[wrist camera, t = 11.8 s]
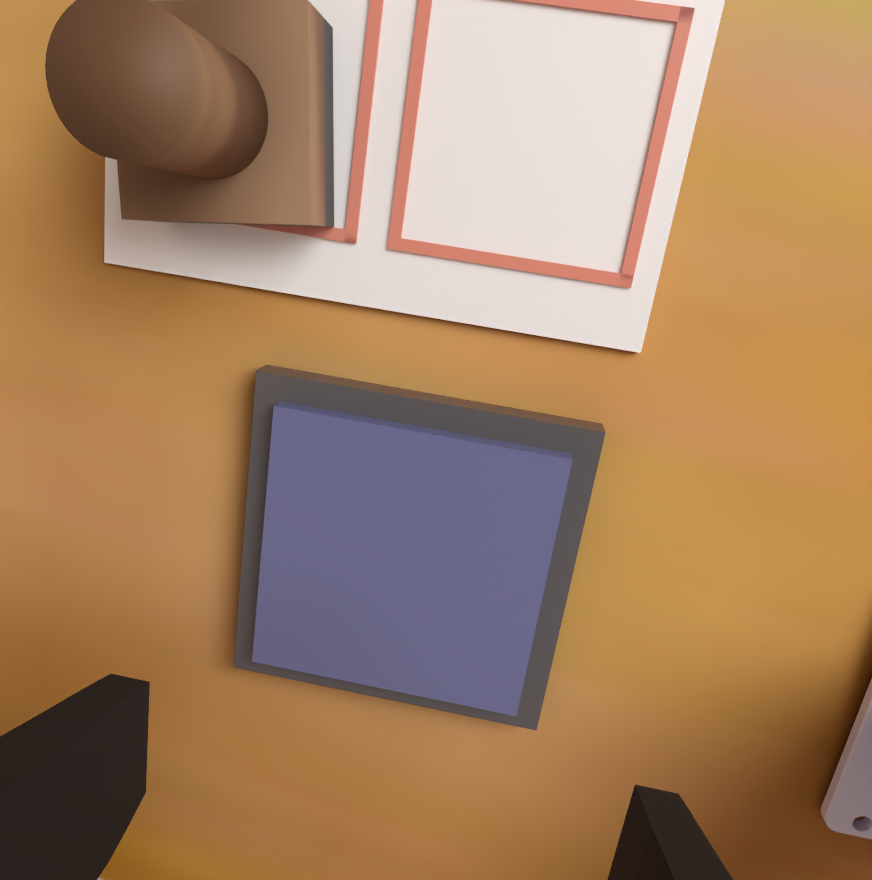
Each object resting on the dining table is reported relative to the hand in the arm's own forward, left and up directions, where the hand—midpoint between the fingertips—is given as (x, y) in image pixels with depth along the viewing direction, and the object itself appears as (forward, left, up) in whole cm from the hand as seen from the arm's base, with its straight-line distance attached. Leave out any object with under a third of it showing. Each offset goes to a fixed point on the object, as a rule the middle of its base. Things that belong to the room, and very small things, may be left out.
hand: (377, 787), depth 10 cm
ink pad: (+1, +1, -10) cm, 10 cm away
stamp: (+6, -9, -10) cm, 15 cm away
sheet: (+3, -10, -10) cm, 14 cm away
